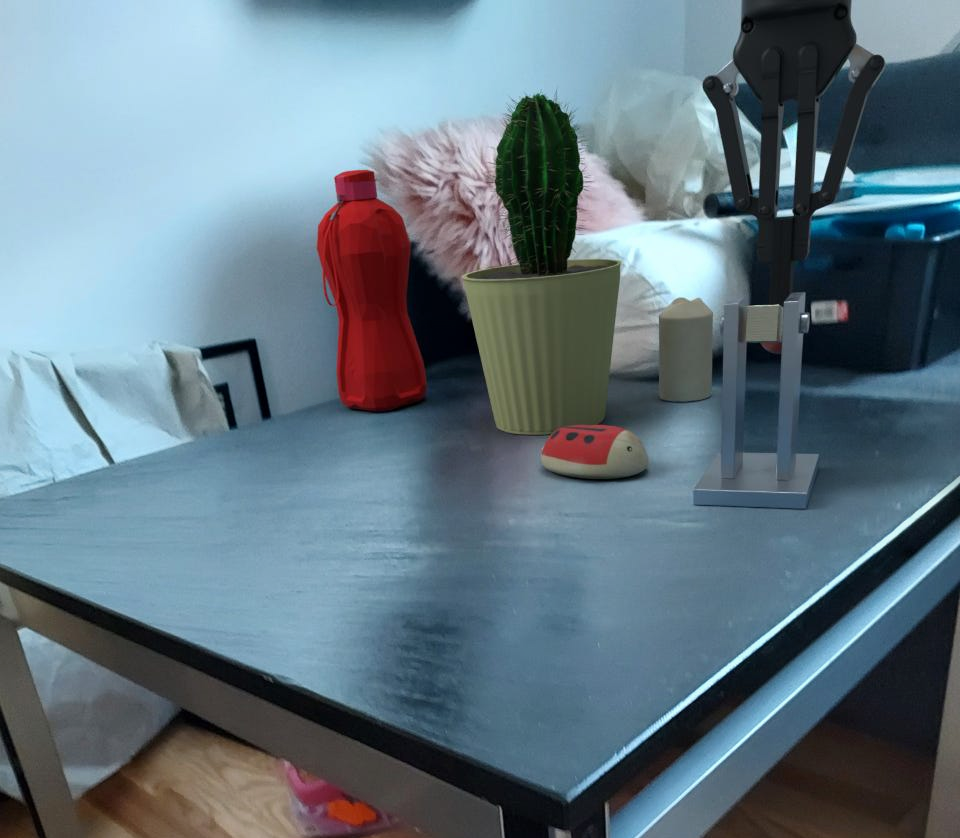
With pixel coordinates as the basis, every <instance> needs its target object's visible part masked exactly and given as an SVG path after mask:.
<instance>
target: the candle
mask: <svg viewBox="0 0 960 838" xmlns="http://www.w3.org/2000/svg"><path fill="white" fill-rule="evenodd" d="M713 329H714V312H713V310H712V309H711V308H710V307H709V306H708V305H707V304H706V303H705V302H704V301H703V300H702V298H701V297H697V298H694V299H692V300H690V299H687V298H686V297H677V298H674V300H673V301H671V303H669V305H667V306H666V307H665V308H664V309H663V310H662V311H661V312H660V313H659V315H658V382H659V383H658V386H659V387H658V389H659V398H660V399H661V400H663V401H667V402H677V403H679V402H694V401H695V402H696V401H701V400H704V399H707V398H710V397H711V396H712V392H713V391H712V389H713V387H712V386H713V341H714V339H713V337H714V336H713V335H714V334H713V333H714V330H713Z"/></svg>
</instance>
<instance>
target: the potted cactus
mask: <svg viewBox="0 0 960 838" xmlns="http://www.w3.org/2000/svg"><path fill="white" fill-rule="evenodd" d="M558 88H559V87H558V86H557V87H556V90H555V93H554V96H553V100H552V99H549V98H548V96H547V95H546V94H542V88H541V89H540V92H537V93H535V94H533V95H527V93H526V92H524V93H523V94H524V95H525V96H524V97H522V96H521V98H520V99H519V102H517V101H516V100H515V99H513V98H510V99H511V101H512V102H513V103H512V105H514V106H513V108H512V107H511V106H510V104H509V103H506V105H508V106H507V107H506V110H507V111H508V112H509V113H507V112H505V113H503V116H505V117H506V118H505V117H503V120H504V122H501V123H502V125H503V126H505V128H502V129H503V131H504V132H502V134H500V133H499V135H500V136H501V139H500V140H498V139H497V138H496V139H495V140H497V142H498V144H497V146H496V148H495V147H493V146H487V145H486V147H488V148H491V149H493V150H495V151H496V152H497V155H496V157H495V156H493V159H492V160H493V161H495V163H494V162H490V161H489V162H488V161H486V163H488V164H491V165H494V166H493V169H494V170H491V173H494V174H495V175H491V174H489V173H490V171H485V174H484V172H482V173H481V175H484V176H485V177H487V179H489V180H491V181H490V182H489V181H487V182H486V184H494V185H492V186H491V188H492V190H489V193H490V192H491V193H492V192H495V194H496V198H495V196H493V197H492V199H491V200H493V201H497V200H498V201H500V200H501V202H502V205H503V206H502V207H501V208H499V209H498V210H497V211H496V212H495V213H494V214H493V215H492V217H494V216H495V215H496V214H497V213H499V216H500V217H499V218H498V221H500V220H501V221H502V220H507V221H506V222H504V223H503V227H504V226H505V227H504V229H502V230H501V232H502V233H503V235H506V236H505V237H504V238H503V239H501V241H504V239H508V240H510V239H511V243H512V244H510V245H509V246H507V247H506V249H507V248H508V249H510V248H513V250H512V251H511V252H509V253H508V255H509V254H511V253H513V252H514V254H515V256H516V257H514V258H512V259H511V260H508V261H507V262H506V264H507V263H510V262H511V263H510V264H509V265H504V266H496V267H495V266H494V267H489V268H483V269H479V270H474V271H470V272H467V273H465V274H462V275H461V280H463V282H464V289H465V290H464V291H465V295H466V300H467V303H468V308H469V313H470V318H471V321H472V325H473V329H474V334H475V339H476V343H477V347H478V352H479V356H480V357H479V358H480V361H481V365H482V370H483V374H484V378H485V382H486V388H487V392H488V396H489V397H488V398H489V401H490V405H491V406H490V407H491V410H492V414H493V420H494V423H495V425H496V428H497V429H498V430H500V431H502V432H505V433H509V434H514V435H527V436H542V435H543V436H544V435H545V436H546V435H551V434H552V433H554V432H555V431H556V430H557V429H559V428H562V427H566V426H572V425H593V424H595V425H600V423H602V422H603V421H604V419H605V416H606V410H607V402H608V401H607V399H608V391H609V382H610V373H611V362H612V355H613V346H614V338H615V337H614V336H615V327H616V319H617V310H618V309H617V308H618V300H619V292H620V284H621V265H622V261H620V260H618V259H610V258H609V259H608V258H583V259H582V258H580V259H578V258H577V259H570V257H571V256H574V252H575V253H577V251H576V249H575V248H574V246H573V245H574V244H577V242H575V239H576V235H580V236H584V234H583V233H580V234H579V233H576V231H578V232H579V231H580V232H582V231H583V230H584V225H583V224H580V225H579V224H578V226H579V227H578V226H577V221H580V218H578V215H579V214H578V211H579V213H581V212H582V211H583V212H584V211H586V212H587V209H583V208H580V207H578V205H580V204H581V202H579V197H580V199H581V201H584V199H583V197H582V195H580V194H582V193H584V195H586V196H587V194H586V193H585V192H583V190H584V191H586V192H589V190H588V189H586V188H590V185H589V186H587V185H584V183H586V184H593V183H595V181H594V180H585V179H590V177H592V174H590V175H588V176H587V173H588V172H589V171H590V170H588V169H587V166H585V163H583V162H582V160H584V157H581V156H582V155H584V154H582V153H583V152H585V150H584V149H586V147H587V144H584V145H582V147H581V148H579V143H580V144H581V143H582V142H586V141H587V139H586V140H585V139H582V140H578V139H579V138H581V136H578V135H577V133H576V132H577V131H578V130H580V129H581V126H579V122H577V123H575V124H574V125H573V126H572V123H574V121H575V120H573V119H574V118H575V117H576V116H577V115H576V114H574V113H575V112H576V111H577V110H578V108H576V109H575V110H574V111H573V108H574V107H572V108H571V110H570V112H568V109H569V106H568V103H565V105H564V106H563V107H561V101H558ZM507 96H508V97H510V96H509V94H507ZM530 96H531V97H530ZM518 97H520V96H519V95H518ZM567 100H568V99H566V101H565V100H564V101H565V102H567ZM564 101H562V103H563V102H564ZM571 101H572V100H571ZM571 101H569V103H571ZM566 106H567V108H566ZM512 109H514V110H512ZM562 109H564V110H563V111H562ZM565 109H566V110H565ZM510 114H511V115H510ZM573 114H574V115H573ZM500 115H502V112H500ZM572 115H573V116H572ZM498 119H499V118H498ZM499 120H500V119H499ZM584 137H585V136H584V135H583V136H582V138H584ZM580 150H584V151H581V152H580ZM580 164H581V165H583V166H585V167H584V168H583V169H582V170H581V169H580ZM489 168H490V169H492V167H489ZM587 171H588V172H587ZM486 174H487V175H486ZM488 175H489V176H488ZM584 180H585V181H584ZM493 187H495V188H493ZM493 198H494V199H493ZM500 210H501V211H500ZM580 210H581V211H580ZM500 214H501V215H500ZM501 217H503V218H501ZM581 221H583V222H586V220H584V219H581ZM586 230H588V229H586ZM588 231H589V230H588ZM510 236H511V237H510ZM572 252H573V253H572ZM513 260H515V261H513Z"/></svg>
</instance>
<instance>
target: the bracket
mask: <svg viewBox="0 0 960 838" xmlns="http://www.w3.org/2000/svg"><path fill="white" fill-rule="evenodd" d="M747 306H749V294H734V295H733V296H732V297H731V298H730V299H729V300H727V301H726V302H725V303H724V306H723V315H722V316H721V318H720V324H719V332H720V336H722V337H723V346H722V347H723V349H722V351H723V353H722V355H723V356H722V389H721V390H722V394H721V397H722V399H721V400H722V401H721V440H720V451H717V452H716V453H715V455H714V457H713V458H712V460H711V461H710V463H709V465H708V466H707V468H706V469H705V471H704V473H702V475H701V477H700V479H699V480H698V481H697V483H696V485H695V486H694V488H693V491H692V492H693V493H692V495H693V496H692V497H693V498H692V504H693V505H694V506H695V505H696V506H717V507H719V506H720V507H741V508H742V507H745V508H766V509H767V508H770V509H771V508H772V509H792V510H793V509H795V510H796V509H797V510H798V509H799V510H806V509H807V506H808V503H809V500H810V496H811V494H812V490H813V488H814V483H815V480H816V477H817V474H818V471H819V465H820V454H819V453H797V449H798V448H797V447H798V428H799V413H800V395H801V377H802V360H803V343H804V334H808V333H809V329H810V312H808V311H807V312H805V309H806V307H805V306H806V292H805V291H800V292H799V291H797V292H793V293H791V294H790V295H789V297H788V298H787V299H786V300H785V302H784V312H783V333H782V353H781V354H780V355H781V356H780V357H781V358H780V359H781V360H780V377H779V395H778V396H779V397H778V398H779V399H778V416H777V417H778V419H777V437H776V438H777V439H776V452H744V436H745V406H746V405H745V403H746V376H747V375H746V374H747V373H746V372H747V344H748V342H745V332H746V315H747ZM803 333H804V334H803Z"/></svg>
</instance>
